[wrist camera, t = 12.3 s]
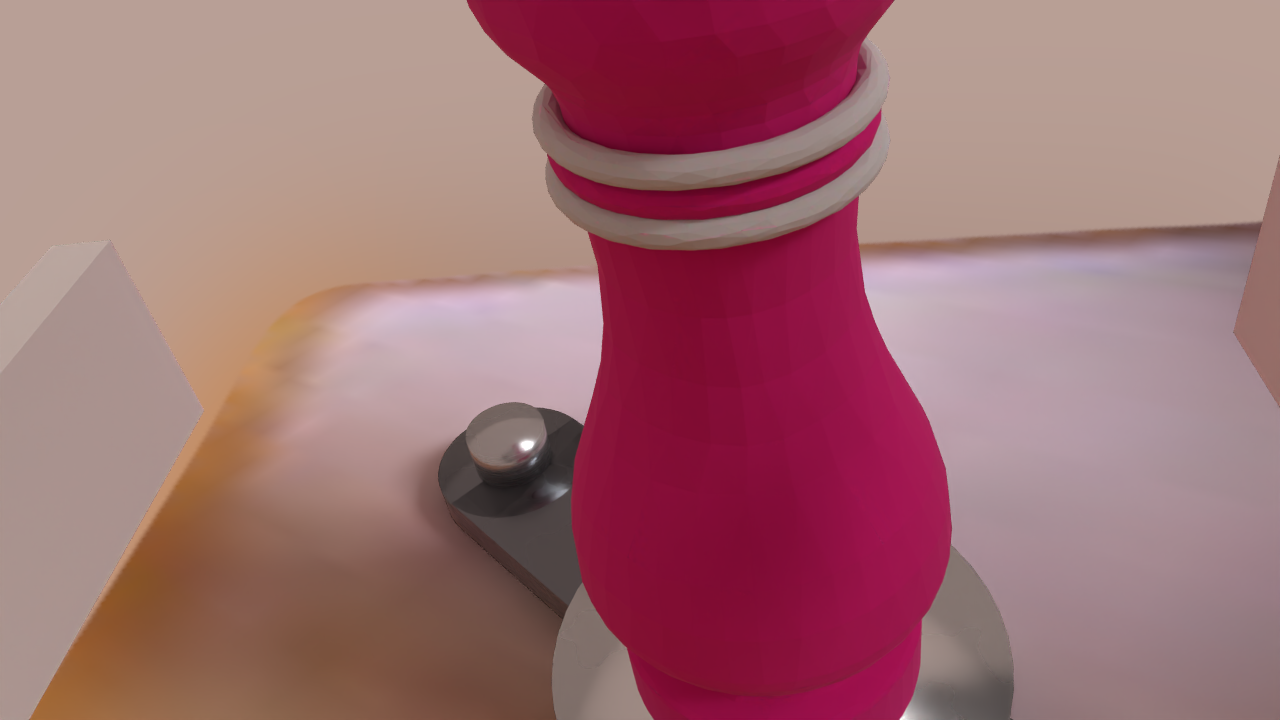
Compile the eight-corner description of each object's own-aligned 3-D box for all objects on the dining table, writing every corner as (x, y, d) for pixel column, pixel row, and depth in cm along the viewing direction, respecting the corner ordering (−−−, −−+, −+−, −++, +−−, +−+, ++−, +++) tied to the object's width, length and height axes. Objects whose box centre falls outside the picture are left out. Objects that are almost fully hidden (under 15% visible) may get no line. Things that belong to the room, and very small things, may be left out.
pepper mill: (1007, 617, 23) (1146, -630, 10) (817, 884, 19) (671, -559, 7) (743, 483, 27) (614, -513, 15) (546, 680, 23) (146, -429, 11)
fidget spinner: (337, 546, 30) (310, 493, 28) (602, 366, 34) (590, 312, 33) (1208, 1467, 14) (1243, 1449, 13) (1485, 910, 18) (1533, 851, 17)
